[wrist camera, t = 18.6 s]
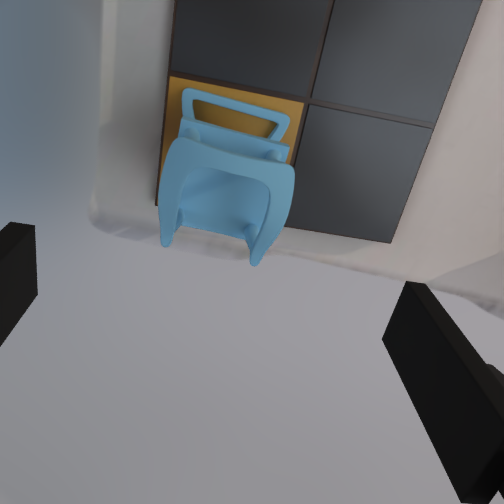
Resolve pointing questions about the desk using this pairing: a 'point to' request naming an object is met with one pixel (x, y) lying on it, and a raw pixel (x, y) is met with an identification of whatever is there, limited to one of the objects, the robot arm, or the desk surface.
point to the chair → (226, 177)
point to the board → (325, 93)
